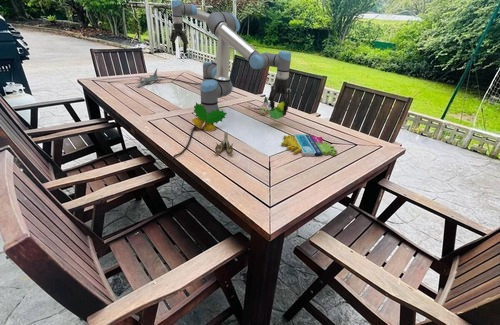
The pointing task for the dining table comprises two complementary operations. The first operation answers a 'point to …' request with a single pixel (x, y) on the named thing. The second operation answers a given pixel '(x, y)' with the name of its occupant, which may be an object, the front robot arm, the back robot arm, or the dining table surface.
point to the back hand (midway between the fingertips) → (179, 52)
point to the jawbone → (224, 145)
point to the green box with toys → (277, 111)
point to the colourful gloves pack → (308, 145)
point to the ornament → (207, 117)
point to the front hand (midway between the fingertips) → (278, 113)
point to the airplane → (149, 79)
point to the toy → (263, 107)
